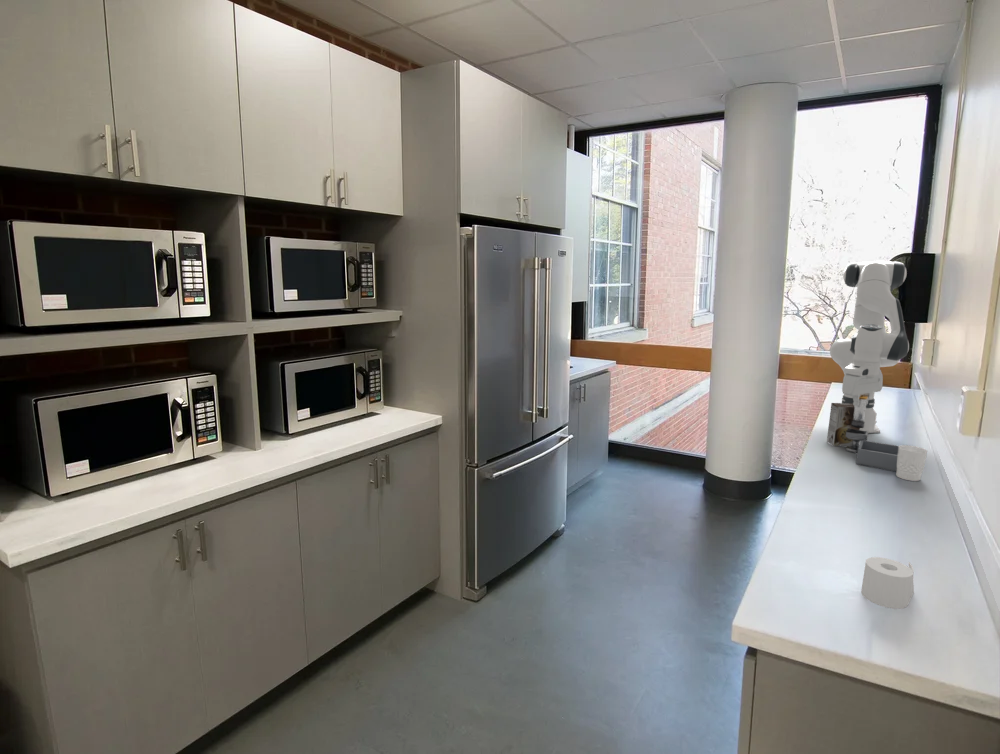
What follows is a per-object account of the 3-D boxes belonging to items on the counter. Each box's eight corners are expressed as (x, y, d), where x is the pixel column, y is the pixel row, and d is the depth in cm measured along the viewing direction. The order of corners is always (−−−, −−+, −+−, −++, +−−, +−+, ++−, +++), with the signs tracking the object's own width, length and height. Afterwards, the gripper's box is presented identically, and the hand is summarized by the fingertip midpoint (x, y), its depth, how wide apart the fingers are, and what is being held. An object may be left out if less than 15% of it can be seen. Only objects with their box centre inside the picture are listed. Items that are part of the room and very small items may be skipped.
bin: (859, 454, 218) (861, 439, 217) (906, 462, 210) (908, 447, 209) (855, 464, 206) (858, 449, 205) (905, 473, 198) (908, 457, 197)
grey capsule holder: (845, 447, 226) (847, 428, 225) (865, 450, 223) (868, 431, 221) (843, 451, 221) (846, 432, 220) (864, 455, 217) (867, 435, 216)
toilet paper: (913, 592, 123) (919, 561, 122) (904, 614, 115) (909, 581, 114) (869, 577, 128) (873, 548, 127) (856, 597, 120) (861, 566, 119)
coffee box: (849, 442, 233) (855, 403, 230) (857, 447, 227) (863, 407, 224) (825, 441, 234) (830, 402, 231) (833, 446, 228) (838, 405, 225)
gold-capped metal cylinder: (848, 425, 221) (852, 394, 219) (855, 424, 223) (859, 393, 221) (859, 428, 218) (864, 397, 215) (866, 427, 220) (870, 396, 217)
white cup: (895, 479, 192) (900, 449, 190) (892, 472, 199) (896, 443, 197) (924, 483, 188) (929, 453, 187) (920, 476, 195) (925, 447, 194)
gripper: (872, 365, 224) (867, 400, 227) (841, 369, 214) (836, 405, 217) (889, 368, 219) (884, 404, 221) (858, 372, 209) (853, 409, 211)
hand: (860, 405), depth 219 cm, fingers closed on gold-capped metal cylinder, 4 cm apart
